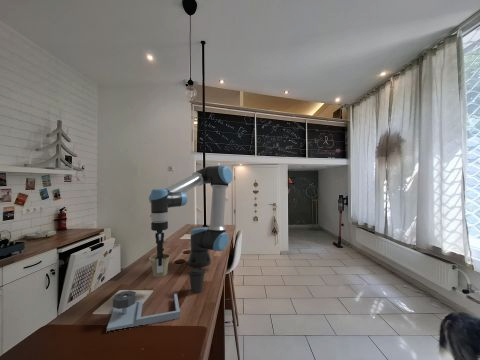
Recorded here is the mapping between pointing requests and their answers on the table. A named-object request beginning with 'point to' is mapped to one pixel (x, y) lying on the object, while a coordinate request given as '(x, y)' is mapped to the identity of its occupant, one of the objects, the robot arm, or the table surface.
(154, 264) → the flower pot
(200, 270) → the coffee cup
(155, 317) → the tray
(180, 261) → the table surface
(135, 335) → the table surface
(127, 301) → the faceted octagonal hub
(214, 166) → the robot arm
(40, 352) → the table surface
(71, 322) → the table surface
